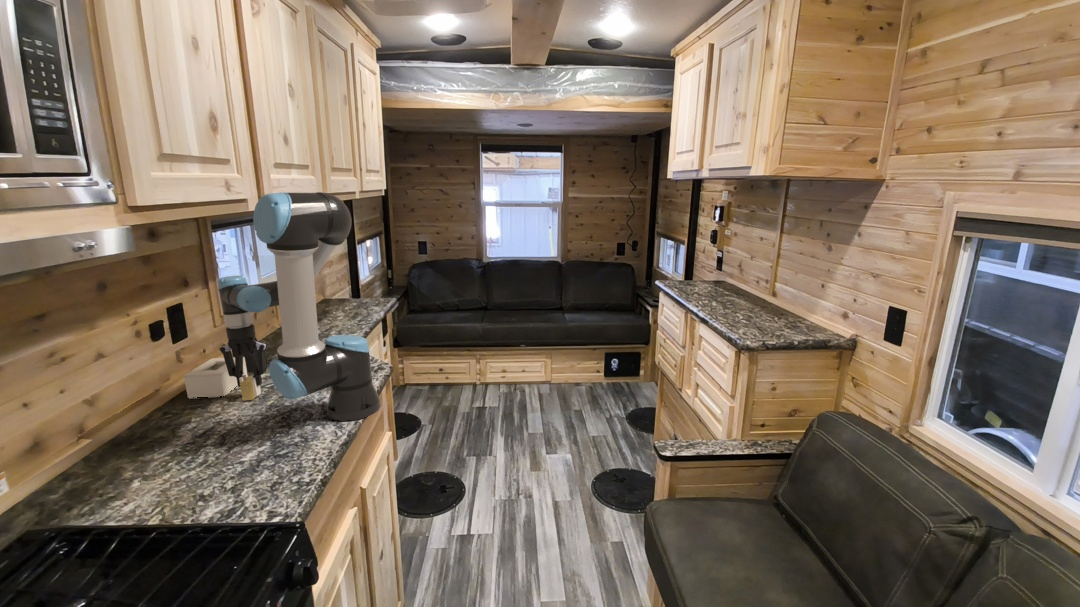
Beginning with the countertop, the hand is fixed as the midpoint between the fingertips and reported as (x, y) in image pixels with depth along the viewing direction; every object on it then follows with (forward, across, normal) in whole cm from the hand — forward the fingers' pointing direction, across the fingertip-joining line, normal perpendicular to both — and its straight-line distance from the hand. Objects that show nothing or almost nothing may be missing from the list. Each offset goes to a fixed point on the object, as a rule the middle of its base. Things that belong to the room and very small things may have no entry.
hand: (251, 394), depth 153 cm
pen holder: (+1, +13, -27) cm, 30 cm away
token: (+1, 0, 0) cm, 1 cm away
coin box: (+1, +15, -10) cm, 18 cm away
